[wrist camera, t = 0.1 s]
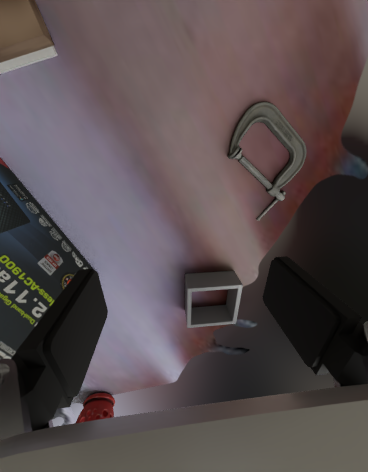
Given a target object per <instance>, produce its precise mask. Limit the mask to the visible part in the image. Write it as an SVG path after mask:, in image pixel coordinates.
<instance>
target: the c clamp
mask: <svg viewBox="0 0 368 472" xmlns="http://www.w3.org/2000/svg"><path fill="white" fill-rule="evenodd" d="M256 122H262V123H264V124H265V125H266V126H267V127H268V128H269V129H270V130H271V131H272V133H273V134H274V135H275V136H276V137H277V138H278V139H279V141H280V142H281V143H282V144H283V145H284V146H285V147H286V149H287V150H288V151H289V153H290V159H289V162H288V164H287V165H286V167H285V168H284V169H283V170H282V171H281V172H280V173H279V175H278V176H277V177H276V178H275V180H274V182H273V184H271V183H270V182H269V181H268V180H267V179H266V178H265V177H264V176H263V175H262V174H261V173H260V172H259V171H258V170H257V169H256V168H255V167H254V166H253V165H252V164H251V163H250V162H249V161H248V160H247V159H246V158H245V157H243V156H242V155H241V152H242V149H241V148H240V147H239V143H240V141H241V139H242V138H243V136H244V135H245V133H246V132H247V131H248V129H249V128H250V127H251V126H252V125H253V124H254V123H256ZM228 158H229V159H230V158H231V159H234V158H235V159H239V162H240V163H241V164H242V165H243V166H244V167H245V168H246V169H247V170H248V171H249V172H250V173H251V174H252V175H253V176H254V177H255V178H256V179H257V180H258V181H259V182H261V183H262V184H263V185H264V186H265V187H266V188H267V189H266V191H267V192H268V193H269V194H270V195H271V196H275V197H276V199H275V200H274V201H273V202H272V203H271V204H270V205H269V206H268V207H267V208H266V209H265V210H264V211H263V213H262V214H261V215H260V216H259V217H257V220H258V221H259V220H260V218H261V217H262V216H263V215H264V214H265V213H266V212H267V211H268V210H269V209H270V208H271V207H272V206H273V205H274V204H275V203H276V202H277V201H278V200H279V201H282V200H284V198H285V196H284V195H285V194H286V193H285V192H284V191H282V192H281V193H280V188H282V187H283V186H284V185H285V184H287V183H288V182H289V181H290V180H291V179H292V178H293V177H294V176H295V175H296V174H297V172H298V171H299V170H300V169H301V167H302V166H303V164H304V161H305V158H306V146H305V143H304V141H303V140H302V139H301V137H300V136H299V135H298V134H297V133H296V131H295V130H294V129H293V127H292V126H291V125H290V124H289V123H288V121H287V120H286V119H285V117H284V116H283V115H282V114H281V112H280V111H279V110H278V109H277V107H276V106H275V105H273V104H271V103H268V102H260V103H257V104H255V105H253V106H252V107H250V108H249V109H248V110H247V112H246V113H245V114H244V116H243V117H242V118H241V120H240V122H239V123H238V125H237V127H236V130H235V132H234V135H233V138H232V142H231V147H230V154H229V155H228Z"/></svg>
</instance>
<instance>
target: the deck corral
mask: <svg viewBox="0 0 368 472" xmlns="http://www.w3.org/2000/svg"><path fill="white" fill-rule="evenodd" d="M242 286H243V285H242V283H241V281H240V280H239V278H238V276H237V275H236V273H235V271H222V272H206V273H190V274H185V314H186V322H187V328H192V327H203V326H214V325H225V324H236V320H237V314H238V308H239V303H240V297H241V291H242ZM222 289H228V294H227V302H226V305H218V306H206V307H194V308H191V294H192V292H195V291H208V290H222Z"/></svg>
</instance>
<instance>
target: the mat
mask: <svg viewBox="0 0 368 472" xmlns="http://www.w3.org/2000/svg"><path fill="white" fill-rule="evenodd" d="M55 56H58V55H57V52H56V50H55V48H54V46H51V47H48V48H45V49H42V50H38V51H35V52H32V53H29V54H26V55H23V56H20V57H17V58H14V59H10V60H7V61H4V62H1V63H0V74H2V73H6V72H9V71H12V70H15V69H18V68H21V67H24V66H27V65H30V64H34V63H37V62H40V61H43V60H46V59H49V58H52V57H55Z"/></svg>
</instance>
